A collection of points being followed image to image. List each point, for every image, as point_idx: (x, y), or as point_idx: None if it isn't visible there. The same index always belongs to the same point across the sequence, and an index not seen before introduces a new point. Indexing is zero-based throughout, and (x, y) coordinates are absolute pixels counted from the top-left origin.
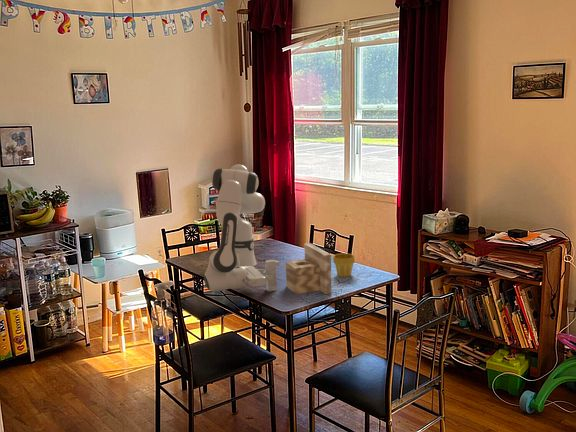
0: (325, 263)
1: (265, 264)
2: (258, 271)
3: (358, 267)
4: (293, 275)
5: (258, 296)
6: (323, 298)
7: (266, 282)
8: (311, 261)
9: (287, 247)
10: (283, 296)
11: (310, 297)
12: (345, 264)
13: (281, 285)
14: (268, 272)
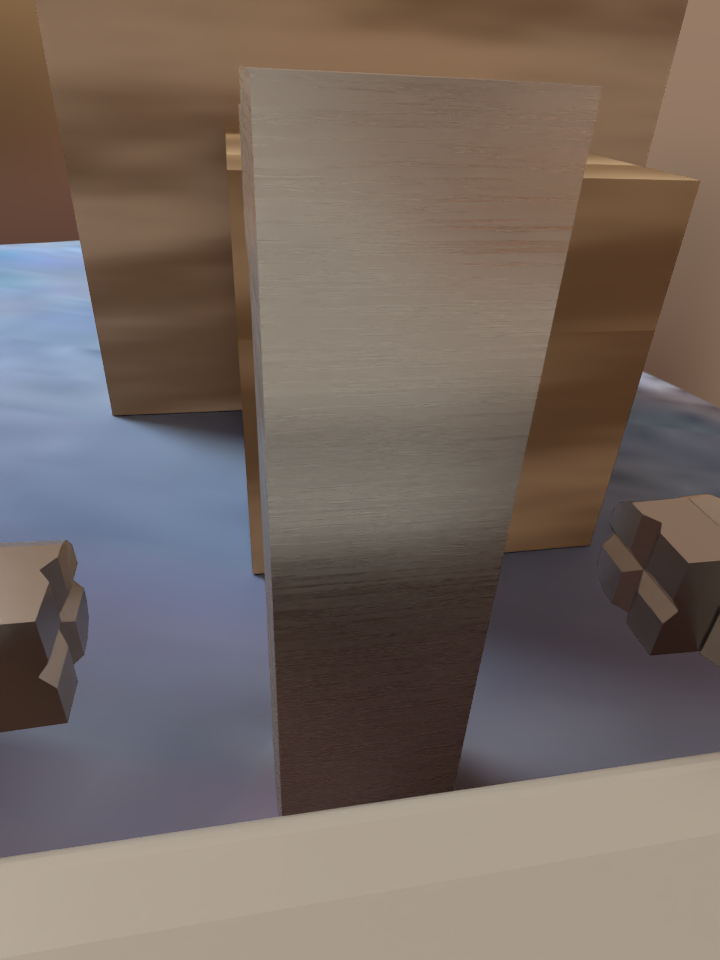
0: (664, 78)
1: (299, 289)
2: (487, 821)
3: (79, 249)
4: (588, 327)
5: None
6: (699, 419)
7: (326, 799)
8: None
9: None
10: (707, 678)
11: (689, 471)
12: None
13: (163, 617)
14: (497, 515)
